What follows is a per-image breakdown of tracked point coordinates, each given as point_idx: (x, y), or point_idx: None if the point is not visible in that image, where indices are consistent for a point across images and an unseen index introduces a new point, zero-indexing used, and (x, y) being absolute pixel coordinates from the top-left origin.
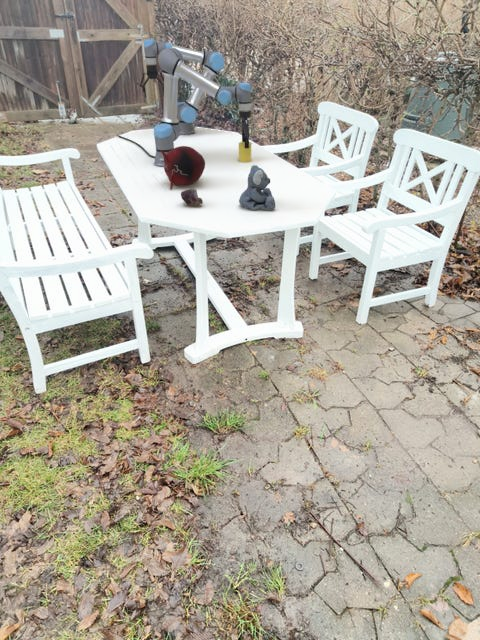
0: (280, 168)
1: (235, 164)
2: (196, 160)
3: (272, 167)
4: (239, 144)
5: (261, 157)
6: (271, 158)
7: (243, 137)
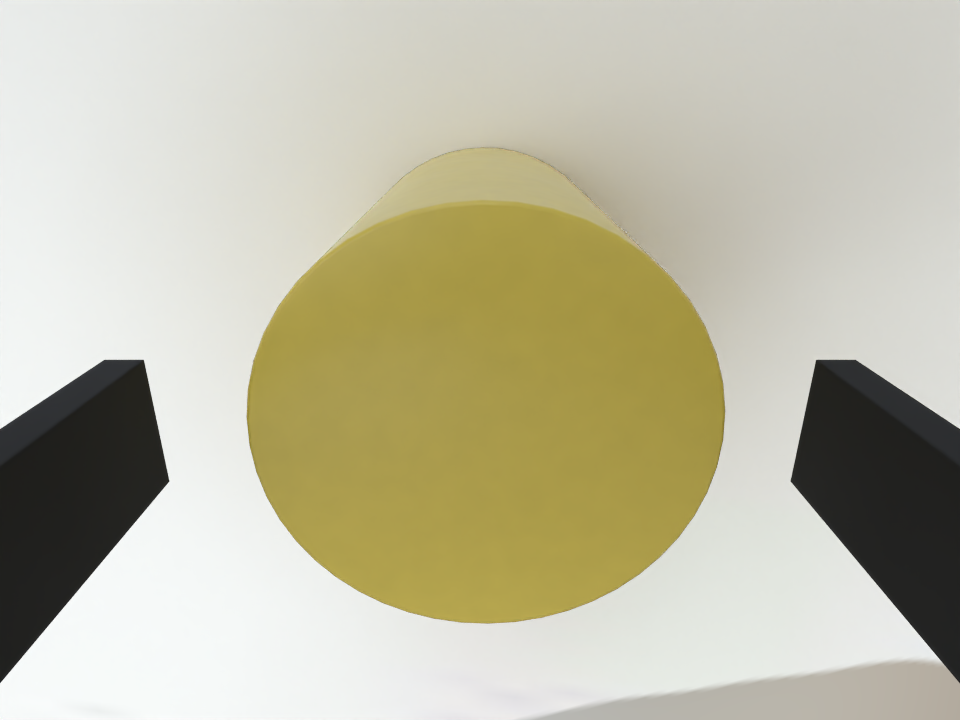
0: (10, 699)
1: (194, 33)
2: None
3: None
4: (376, 222)
5: None
6: (534, 678)
7: (933, 516)
